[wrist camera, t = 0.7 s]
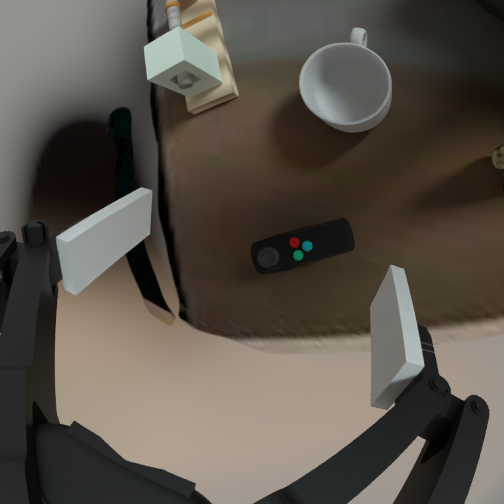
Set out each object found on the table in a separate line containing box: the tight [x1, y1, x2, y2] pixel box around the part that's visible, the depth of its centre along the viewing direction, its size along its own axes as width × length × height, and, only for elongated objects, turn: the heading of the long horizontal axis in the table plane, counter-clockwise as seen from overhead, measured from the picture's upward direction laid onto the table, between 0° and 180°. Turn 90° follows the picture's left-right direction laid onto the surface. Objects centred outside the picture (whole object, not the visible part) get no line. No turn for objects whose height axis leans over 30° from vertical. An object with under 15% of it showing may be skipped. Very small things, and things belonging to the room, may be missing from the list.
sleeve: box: [144, 26, 223, 98], centre depth 38 cm, size 6×6×10 cm
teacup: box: [299, 28, 392, 133], centre depth 33 cm, size 14×11×8 cm
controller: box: [251, 218, 354, 274], centre depth 38 cm, size 4×12×10 cm, turn 108°
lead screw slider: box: [165, 0, 239, 114], centre depth 40 cm, size 24×8×10 cm, turn 13°
